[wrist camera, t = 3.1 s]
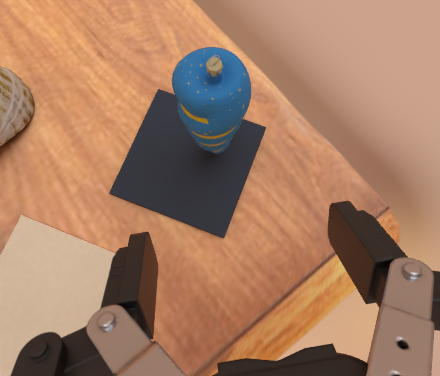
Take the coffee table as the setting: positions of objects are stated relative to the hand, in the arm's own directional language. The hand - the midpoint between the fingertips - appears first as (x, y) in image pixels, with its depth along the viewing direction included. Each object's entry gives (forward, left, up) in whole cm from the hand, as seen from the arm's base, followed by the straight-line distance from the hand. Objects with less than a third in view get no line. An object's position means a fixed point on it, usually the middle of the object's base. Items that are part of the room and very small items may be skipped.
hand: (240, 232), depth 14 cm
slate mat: (+7, -6, -17) cm, 19 cm away
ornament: (+5, -8, -17) cm, 19 cm away
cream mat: (+13, +12, -17) cm, 24 cm away
